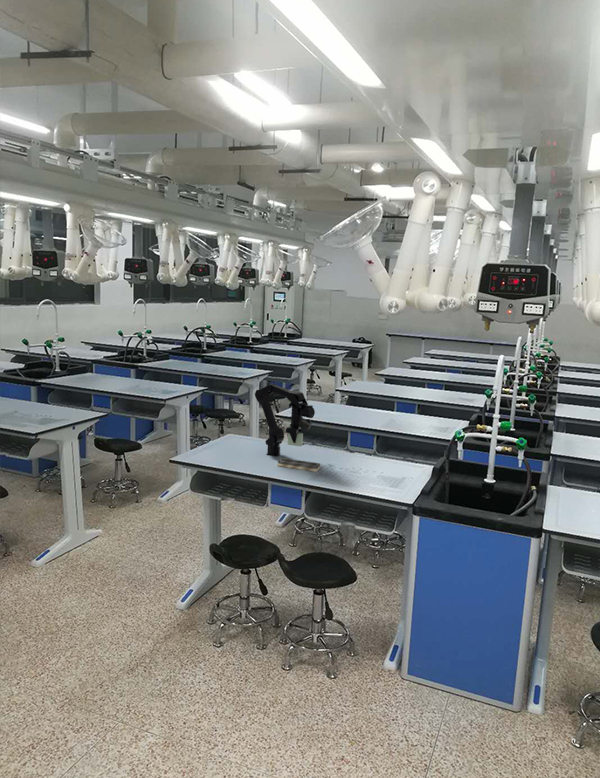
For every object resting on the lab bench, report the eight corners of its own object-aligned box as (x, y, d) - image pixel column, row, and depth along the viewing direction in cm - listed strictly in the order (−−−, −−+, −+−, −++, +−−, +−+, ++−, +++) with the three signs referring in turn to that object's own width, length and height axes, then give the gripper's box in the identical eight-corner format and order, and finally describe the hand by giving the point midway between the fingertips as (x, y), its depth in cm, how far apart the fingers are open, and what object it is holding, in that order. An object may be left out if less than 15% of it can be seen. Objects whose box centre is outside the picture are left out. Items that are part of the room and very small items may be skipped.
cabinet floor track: (277, 465, 311) (277, 461, 311) (282, 461, 320) (282, 457, 319) (316, 471, 305) (316, 467, 305) (320, 467, 314) (320, 462, 313)
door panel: (287, 444, 322) (288, 432, 321) (288, 443, 324) (289, 431, 323) (301, 446, 320) (301, 434, 319) (302, 445, 322) (303, 433, 321)
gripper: (305, 420, 308) (304, 448, 311) (314, 413, 325) (313, 440, 328) (286, 417, 311) (284, 445, 314) (296, 411, 329) (294, 437, 331)
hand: (295, 442), depth 322 cm, fingers closed on door panel, 2 cm apart
